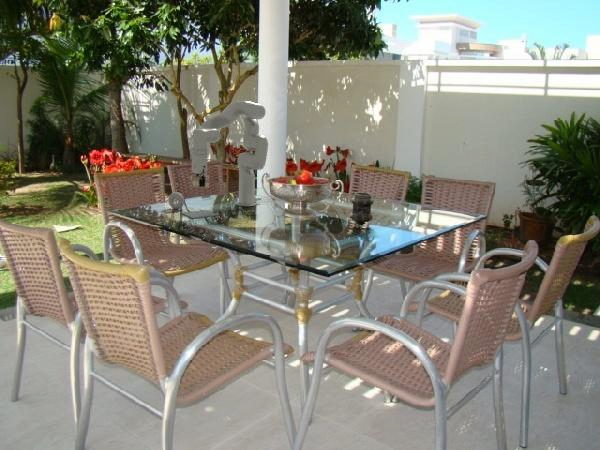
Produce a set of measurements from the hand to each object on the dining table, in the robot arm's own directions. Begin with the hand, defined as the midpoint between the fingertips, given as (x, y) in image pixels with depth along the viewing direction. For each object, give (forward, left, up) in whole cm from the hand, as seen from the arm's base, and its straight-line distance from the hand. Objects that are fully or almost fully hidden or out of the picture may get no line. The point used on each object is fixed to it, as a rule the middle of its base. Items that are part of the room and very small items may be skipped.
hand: (199, 185), depth 304 cm
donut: (+5, -19, -17) cm, 26 cm away
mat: (0, 0, -16) cm, 16 cm away
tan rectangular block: (0, 0, -1) cm, 1 cm away
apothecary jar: (-61, +64, -17) cm, 90 cm away
